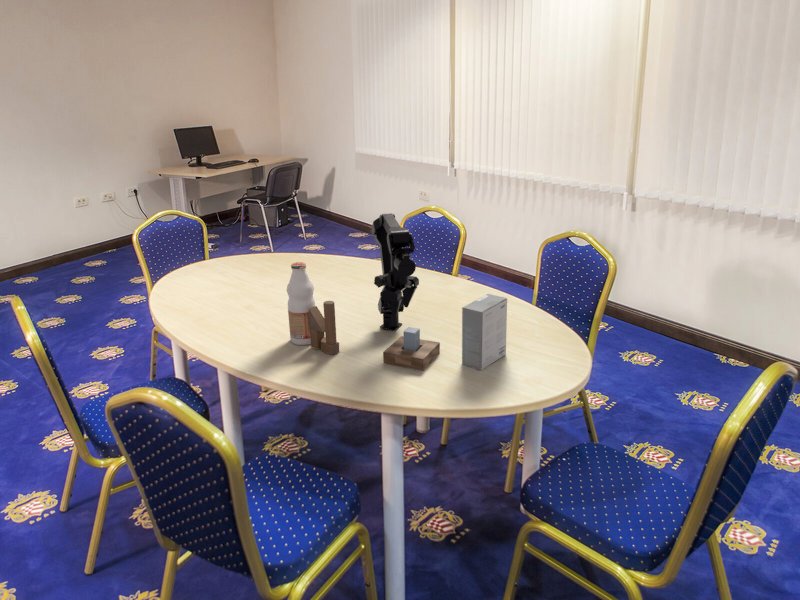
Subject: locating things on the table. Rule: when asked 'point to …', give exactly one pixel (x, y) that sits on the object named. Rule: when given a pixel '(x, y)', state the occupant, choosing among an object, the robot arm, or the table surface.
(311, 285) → the fruit juice
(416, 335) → the tenon peg
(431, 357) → the mortise block
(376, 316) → the table surface
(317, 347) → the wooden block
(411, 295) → the robot arm
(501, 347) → the hard drive box
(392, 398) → the table surface
